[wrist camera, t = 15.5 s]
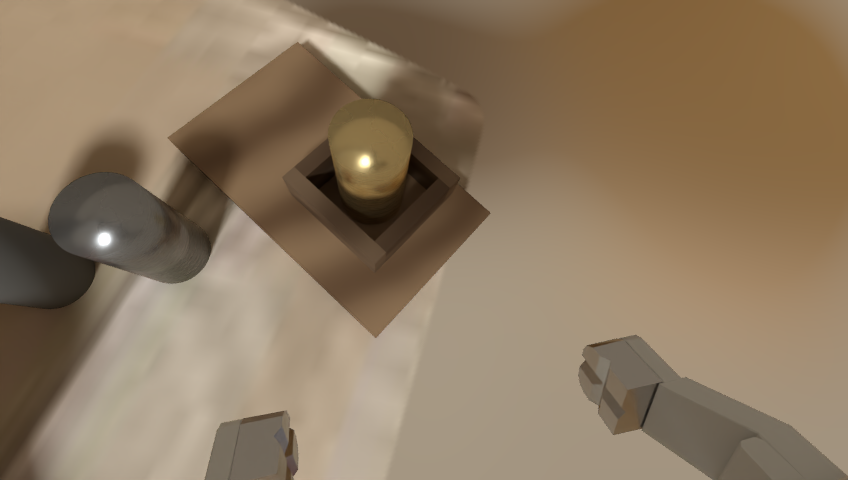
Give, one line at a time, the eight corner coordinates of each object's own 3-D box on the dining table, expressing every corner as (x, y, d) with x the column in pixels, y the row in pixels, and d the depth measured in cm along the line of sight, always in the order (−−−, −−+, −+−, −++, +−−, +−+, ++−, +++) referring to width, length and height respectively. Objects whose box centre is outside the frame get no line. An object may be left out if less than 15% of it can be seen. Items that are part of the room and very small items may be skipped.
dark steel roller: (126, 252, 27) (27, 213, 19) (181, 208, 28) (108, 155, 20) (171, 297, 26) (88, 276, 19) (224, 250, 28) (167, 212, 20)
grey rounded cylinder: (3, 276, 26) (-156, 244, 18) (66, 228, 27) (-58, 180, 19) (48, 323, 25) (-95, 312, 17) (109, 273, 26) (1, 242, 19)
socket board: (177, 148, 29) (143, 113, 25) (301, 55, 32) (289, 10, 28) (375, 338, 27) (376, 335, 23) (485, 219, 31) (503, 198, 26)
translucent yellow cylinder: (327, 194, 28) (309, 132, 20) (372, 155, 29) (371, 84, 22) (371, 236, 27) (370, 190, 20) (415, 195, 29) (430, 137, 21)
